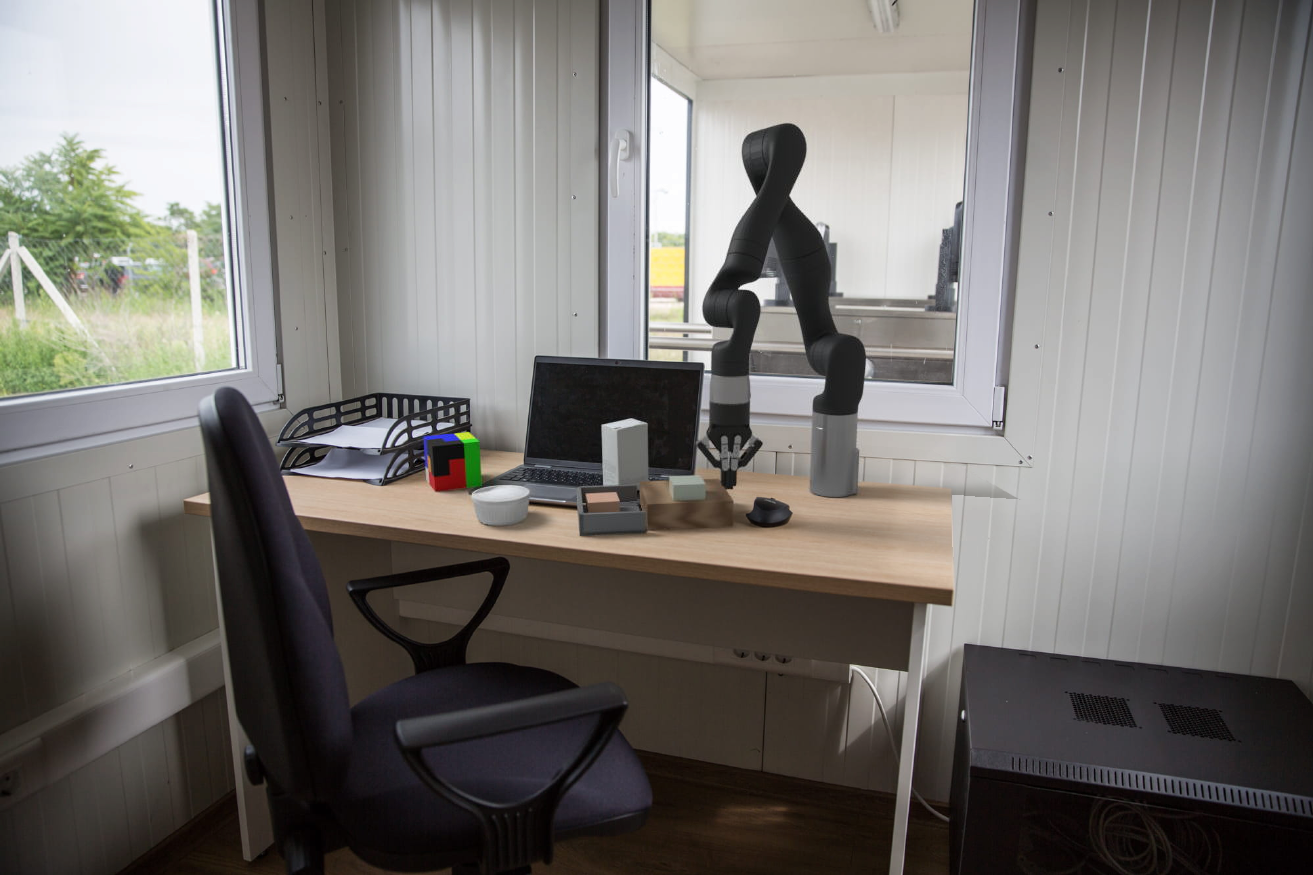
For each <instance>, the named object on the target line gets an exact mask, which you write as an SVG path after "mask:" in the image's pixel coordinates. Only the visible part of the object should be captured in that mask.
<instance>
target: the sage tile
mask: <svg viewBox="0 0 1313 875" xmlns="http://www.w3.org/2000/svg"><path fill="white" fill-rule="evenodd" d="M668 479H669V480H668V481H669V492H670V494H671V496H672V499H673V501H681V500H705V497H706V484H705V482H704V480H703V479H704V478H702V475H699V474H698V475H697V474H696V475H670V476H669V477H668Z"/></svg>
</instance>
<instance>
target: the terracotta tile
mask: <svg viewBox="0 0 1313 875" xmlns="http://www.w3.org/2000/svg"><path fill="white" fill-rule="evenodd" d="M586 510H587V513H603V512H620V500H619V498H618V496H617V493H616V492H608V493H589V494H586Z"/></svg>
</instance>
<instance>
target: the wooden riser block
mask: <svg viewBox="0 0 1313 875" xmlns="http://www.w3.org/2000/svg"><path fill="white" fill-rule="evenodd" d="M702 479H703V480H704V482H705V484H706V497H705V500H681V501H673V499H672V496H671V494H670V492H669V480H648V481H641V482H640V491H639V506H640V505H641V507H640V509H641V508H642V511H645V512H646V529H647V530H646V531H660V530H685V529H707V528H709V529H711V528H712V529H713V528H727V527H728V528H729V527H730V528H733V527H734V504H735V502H734V500H733V498H732V497H731V495H730V493H729V492H728V489H726V490H725V488H724V487H723V486H722V485H721V482H720V480H721V479H720V478H706V479H705V478H702Z"/></svg>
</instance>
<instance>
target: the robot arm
mask: <svg viewBox="0 0 1313 875" xmlns="http://www.w3.org/2000/svg"><path fill="white" fill-rule="evenodd" d="M807 145H808V144H807V140H806V137H805V134H804V132H803V131H802V130H801V128H800V127H799V126H798V125H795V124H794V123H790V122H784V123H779V124H776V125H772V126H769V127H765V128H761V129H758V130H755V131H752V132H750V133H748V134H747V135H746V136H745V137H744V139H743V142H742V144H741V160H742V165H743V167H744V170H745V173H746V176H747V178H748V181H749V183H750V185H751V186H752V189H753V192H754V193H755V198H754V199H753V200H752V202H751V204H750V206H749V207H748V208H747V210H746V211H745V212H744V214H743V215H742V216H741V218H740V220H739V221H738V223H737V224H736V226H735V228H734V231H733V233H732V235H731V238H730V242H729V246H728V250H727V252H726V256H725V260H724V262H723V264H722V266H721V268H720V269H719V270H718V273H717V274H716V276H715V277H714V279H713V280H712V282H711V284H710V286H709V287H708V289H707V291H706V293H705V295H704V298H703V300H702V308H701V310H702V316H703V319H704V321H705V322H706V324H707V325H709V326H711V327H714V328H721V329H722V328H723V329H733V330H732V334H731V336H730V338H729V339H727V340H721V341H717V342H716V343H714V344H713V345H712V348H711V351H710V352H711V353H710V354H711V355H710V356H711V357H710V358H711V363H710V369H711V370H710V380H709V396H708V397H709V398H708V399H709V403H708V404H709V409H708V410H709V411H708V412H709V416H708V418H709V419H708V423H709V424H708V428H707V430H706V435H705V436H703V437H702V438H700V439H696V441H695V445H696V447H697V449H699V451H700V452H701V453H702V455H704V457H705V458H706V460H707V461H708V462H709V463H710V464H711V466H712V467H713V468H714V469H720V479H719V480H720V482H721V485H722V486H723V487H724V488H725V490H734V487H736V486H737V484H738V483H737V480H738V477H737V476H738V473H737V472H738V469H741V468H742V467H743V468H744V467H747V466H748V465H749V463H750V462H751V461H752V460H753V458H754V457H755V455H756V454H757V453H758V451H759V450H760V449H761V448H762V446H763V445H764V444H763V441H762V440H761V439H760V438H759V437H756V436H755V435H753V430H752V429H751V425H750V422H751V421H750V420H751V397H752V393H751V380H750V379H751V378H750V364H751V363H750V359H751V356H750V355H751V350H752V345H753V343H754V337H755V335H756V331H757V327H758V326H759V322H760V318H761V312H762V311H761V310H762V309H761V302H760V299H759V297H758V295H757V294H756V293H755V292H754V291H752V290H750V289H743V288H742V289H740V288H741V287H742V286H744V285H748V284H751V283H754V282H756V281H758V280H759V279H760V277H761V274H762V272H763V270H764V269H763V268H764V265H765V261H766V258H767V254H768V251H769V247H770V243H771V241H773V243H774V247H775V250H776V253H777V258H778V261H779V263H780V264H779V265H780V267H781V271H782V273H783V276H784V279H785V281H786V284H787V287H788V290H789V293H790V295H791V299H792V303H793V305H794V306H793V307H794V308H795V312H796V315H797V317H798V322H799V326H800V330H801V335H802V336H801V337H802V340H803V346H804V351H805V356H806V358H807V362H808V364H809V366H810V367H811V369H812V370H813V371H814V372H815V373H816V374H818V375H820V376H823V377H825V382H824V389H823V391H822V392H821V393H820V394H818V395H815V396H814V398H813V400H812V413H811V414H812V415H811V438H810V439H811V440H810V441H811V442H810V444H811V445H810V467H809V491H810V492H811V493H812V494H814V495H818V496H822V497H830V498H840V497H841V498H843V497H848V496H851V495H857V494H858V492H859V491H858V488H859V486H858V485H859V468H860V467H859V466H860V465H859V464H860V449H859V448H858V447H857V439H858V438H857V436H858V435H857V434H858V419H859V405H860V403H861V400H862V398H863V395H864V389H865V388H864V387H865V379H866V378H865V376H866V367H867V354H866V348H865V346H864V343H863V341H862V340H861V339H860V338H858V337H857V336H854V335H852V334H847V333H841V332H839V331H838V329H837V327H836V324H835V322H834V319H833V315H832V312H831V308H830V299H829V298H830V291H831V290H830V289H831V283H832V264H831V259H830V256H829V253H828V251H827V247H826V244H825V240H824V237H823V235H822V233H821V232H820V230H819V229H818V228H817V226H816V225H815V224H814V223H813V222H812V221H811V220H810V218H808V216H807V215H805V213H803V211H802V210H801V209H800V208H799V207H798V206H797V205H796V203H795V202H794V201H793V199H792V197H791V193H792V190H793V188H794V187H795V184H796V182H797V180H798V178H799V176H800V173H801V172H802V169H803V166H804V164H805V162H806V158H807V149H808V147H807ZM771 239H772V240H771ZM709 442H711V444H712V445H713V447H714V448H715V449H716V450H717V451H718V457H719V458H718V459H716V457H715V456H714V455H713V454H712V452H711V451H710V450H709V449H710V446H711V445H710V443H709ZM746 444H747V445H748V447H746V449H745V450H744V452H743V453H742V454H741V456H740V452H741V450H743V448H744V447H745V446H746Z"/></svg>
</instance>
